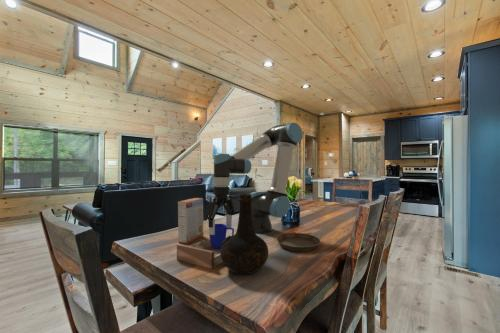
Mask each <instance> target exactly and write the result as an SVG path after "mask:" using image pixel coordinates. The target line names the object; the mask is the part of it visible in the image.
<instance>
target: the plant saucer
mask: <svg viewBox="0 0 500 333" xmlns="http://www.w3.org/2000/svg"><path fill="white" fill-rule="evenodd" d="M276 241H277V243H278V244H279V245H280V246H281V247H282V248H283V249H286V250H289V251H293V252H309V251H312V250H315V249H316V248H317V247H318V246H319V244H320V243H321V240H320V238H319V237H317V236H314V235H311V234H307V233H301V232H300V233H299V232H290V233H289V232H288V233H283V234H280V235H278V236H277V237H276Z"/></svg>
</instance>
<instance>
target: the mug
mask: <svg viewBox="0 0 500 333" xmlns="http://www.w3.org/2000/svg"><path fill="white" fill-rule="evenodd" d="M228 230H230V231H231V230H232V233H231V236H232V235H235V228H233V227H232V228H227V227H226V223H225V224H223V223H215V235H211V234H209V244H210V245H209V246H210V247H211V248H213V249H221V246H222V245H221V244H222V242H223V241H224V240H225V238H227V231H228Z"/></svg>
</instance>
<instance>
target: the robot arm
mask: <svg viewBox="0 0 500 333" xmlns="http://www.w3.org/2000/svg"><path fill="white" fill-rule="evenodd" d="M303 135H304V133H303V129H302V127H301V126H300V125H299V123H296V122H287V123H284V124H282V123H281V124H277V125H273V126H272V127H270V128H269V129H267V130H265V131H264V132H263V133H261V134H260V135H259V137H258V138H256V139H254V140H253V141H252V142H250V143H249V144H246V145H245V146H243V147H242V148H240V149H239V150H237V151H236V152H234V153H232V154H231V155H230V154H229V153H216V154H214V156H213V191H212V192H213V195H214V197H213V196H211V197H210V200H209V204H208V206H207V211H206V214H205V217H204V219H206V220H208V235H210V234H211V235H215V224H216V220H215V217H216V215H217V213H218V211H219V209H220V208H221V207H223V208H224V210H225V212H226V213H227V214H226V216H225V219H226V220H225V221H226V222H225V225H226V227H227V228H233V227H232V222H233V221H232V220H233V216H234V215H235V213H236V212H235V207H234V204H233V201H232V195H231V194H230V181H231V180H230V177H231V176H230V174H234V175H235V174H236V175H237V174H239V175H240V174H241V175H244V174H245V175H246V174H250V172H251V170H252V163H251V160H250V159H251V158H254V157H255V156H256V155H258V154H259V153H261V152H263V151H264V150H265V149H270V148H272V147H273V146H277V153H276V159H275V163H274V168H273V173H272V174H273V175H272V178H271V184H270V188H268V189H267V190H266V191H253V192H251V193H249V194H250V195H251V199H254V200H253V201H251V206H252V219H253V226H254V231H255V234H265V233H266V234H267V233H270V232H272V231H273V225H272V222H271V219H270V217H274V218H282V217H283V218H284V216H285V215H287V214H288V213H289V211H290V208H291V202H290V199H289V197H288V194H289V193H288V192H287V184H288V178H289V173H290V169H291V164H292V158H293V153H294V151H295V149H296V148H297V146H298V143H300V142H301V141H302V140H303V137H304V136H303Z"/></svg>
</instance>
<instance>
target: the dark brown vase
mask: <svg viewBox="0 0 500 333" xmlns="http://www.w3.org/2000/svg"><path fill="white" fill-rule="evenodd" d="M250 194H251V193H248V194H247V193H241V194H240V193H239V194H238V195H239V198H237V199H236V200H237V201H239V208H238V209H239V211H238V212H239V213H238V221H237V228H236V232H235V233H234V235H232V234H231V235H228V236H226V238H225V240H224V241H223V242H222V244H221V245H222V246H221V248H220V253H221V258H222V260H223V262H222V263H223V264H224V265H225V266H226V267H227V269H229V270H230V271H231V272H234V273H236V274H240V275H247V274H252V273H255V272H257V271H259V270H260V269H261V268H262V267H263V266H264V265H265V264H266V263H267V260H268V257H269V246H268V245H267V243H266V241H265V240H264V239H263V238H261V237H260V236H258V235H257V233H255V231H254V226H253V219H252V206H251V201H253V200H254V199H251V195H250Z"/></svg>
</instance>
